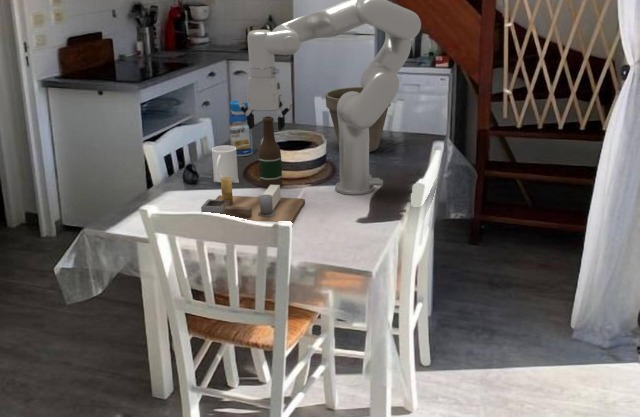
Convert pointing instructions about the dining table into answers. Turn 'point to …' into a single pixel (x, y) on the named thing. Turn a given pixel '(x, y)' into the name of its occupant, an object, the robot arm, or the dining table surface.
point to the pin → (227, 189)
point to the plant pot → (331, 104)
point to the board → (251, 209)
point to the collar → (215, 206)
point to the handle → (269, 199)
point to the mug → (225, 163)
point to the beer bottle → (269, 157)
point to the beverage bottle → (240, 130)
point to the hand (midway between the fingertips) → (266, 128)
